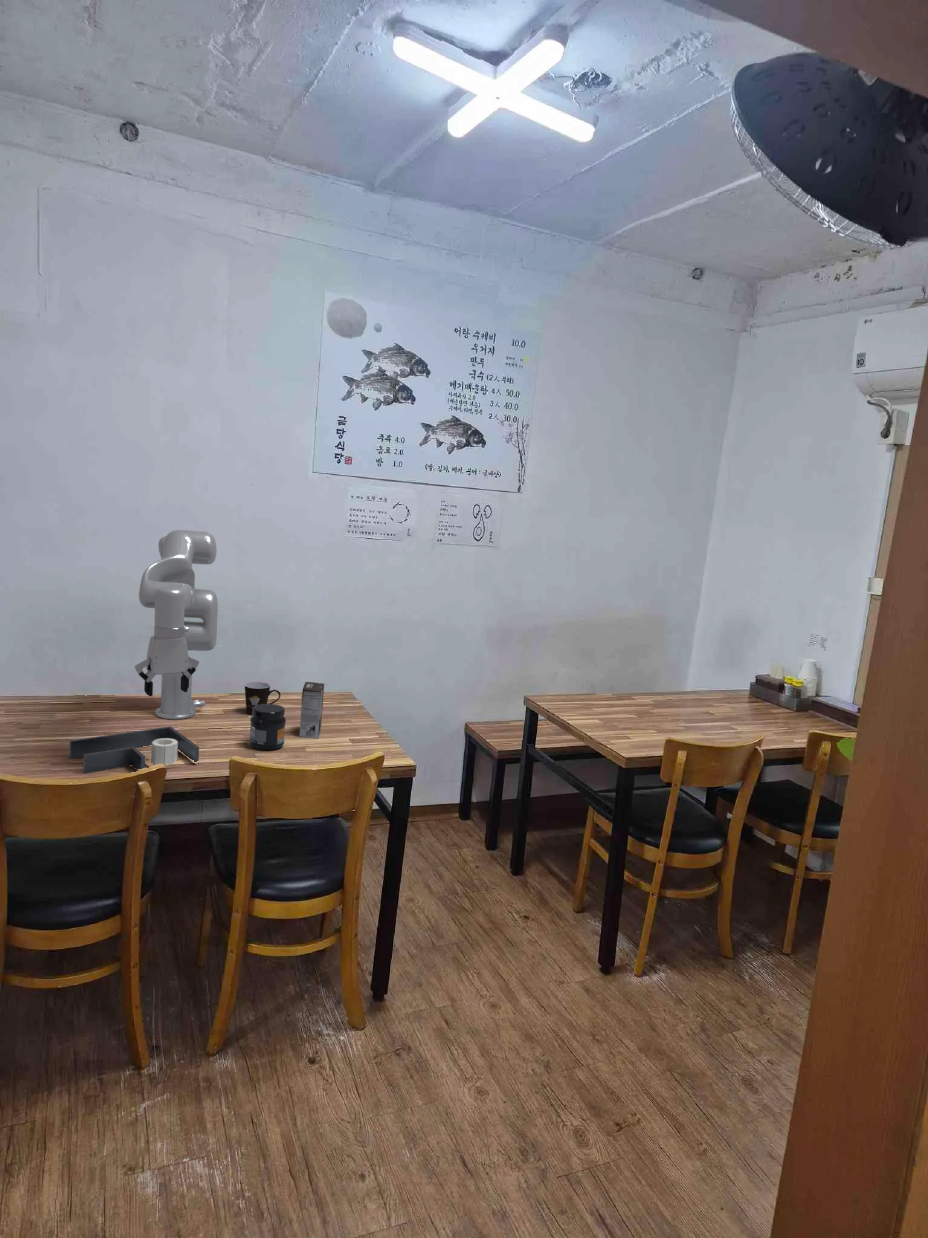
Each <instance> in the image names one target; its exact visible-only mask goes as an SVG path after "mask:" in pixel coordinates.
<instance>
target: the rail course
mask: <svg viewBox="0 0 928 1238" xmlns="http://www.w3.org/2000/svg"><path fill="white" fill-rule="evenodd" d="M161 738H170V739H175V740H176V741H178V749H179V750H180V751H181V752H183V753H184V754H185V755H186V756H188V757H189V758H190V759H192V760H194V762H197V761H199V759H200V758H199V756H200V747H199V746H198V745H197V744H196V743H194V742H193V741H192V740H190V739H189V738H187V737H186V736H185V735H183V734H182V733H180V732H179V731H178V730H176V729H175V728H173V726H165V727H164V726H163V727H157V728H150V729H148V728H147V729H142V730H136V731H129V732H127V731H126V732H120V733H114V734H107V735H106V734H105V735H101V736H100V735H99V736H92V737H85V738H77V739H72V740H70V739H69V759H70V760H72V759H77V758H78V759H79V758H83V771H82V772H83V773H84V774H89V773H96V772H101V771H107V770H106V769H108V770H114V769H119V768H126V767H132V766H133V767H134V768H136V769H142V768H145V769H146V765H145V759H146V755H145V754H143V752H142V751H140V750H139V749H140V748H139V747H143V746H149V745H152V742H153V741H154V740H156V739H161ZM136 748H138V749H136ZM199 762H200V761H199ZM130 765H132V766H130ZM125 766H126V767H125ZM133 767H132V768H133ZM113 768H114V769H113ZM134 768H133V769H134ZM136 769H135V770H136Z"/></svg>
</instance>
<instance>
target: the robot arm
mask: <svg viewBox="0 0 928 1238" xmlns="http://www.w3.org/2000/svg"><path fill="white" fill-rule="evenodd" d="M157 546H158V553H159V556H160V560H157V561H155V562H154V563H152V564H151V565H149V566H148V567H147V568H146V569H145V570H144V572H143V573H142V576H141V579H140V580H141V581H140V583H139V590H138V600H139V603H140V605H141V606H143V607H144V608H148V609H154V625H153V627H154V629H153V631H154V632H153V636H152V635H151V636H150V638H149V642H148V646H147V652H146V659H144V660H142V661H141V662H139V663H138V664H136V665H134V669H135V671H136V672H137V675H138V676H139V677H141V678H142V680H143V681H144V689H143V690H144V693H145V694H146V695H147V696H148V697H152V696H153V694H154V693H153V692H154V689H153V688H154V682H153V681H152V680H153V679H154V678H155V677H156V676H157V675H158V676H159V675H161V686H160V707H158V708H156V710H155V713H154V714H155V715H156V716H157V717H159V718H162V719H167V720H182V719H189V718H192V717H194V716H195V715H196V708H198V707H200V708H201V707H202V708H203V707H205V706H206V702H205V700H198V699H194V700H193V699H192V690H193V689H192V687H193V674H194V673H195V672H196V670H197V668H198V666H199V664H200V661H199V660H197V659H195V658H192V657H190V655H189V652H188V651H194V652H195V651H199V652H209V651H212V650H213V649H215V647H216V644H217V636H218V635H217V633H218V611H219V608H218V606H219V605H218V598H217V594H216V592H214V591H212V590H211V589H210V590H209V589H203V588H201V589H200V588H195V583H196V579H195V578H196V573H195V571H194V568H192V567H193V564H194V565H212V564H213V563H214V562H215V561H216V558H217V550H218V549H217V544H216V538H215V537H214V536H213V535H212V534H211V533H210V532H207V531H197V530H187V529H185V530H184V529H175V530H172V531H170V532H169V533H167V534H166V535H165V536H163V537H161V538H159V540H158V545H157ZM185 618H192V619H194V618H195V619H201V620H202V621H190V620H188V621H187V620H185ZM144 668H145V669H146V670H147V671H146V672H145V673H144Z"/></svg>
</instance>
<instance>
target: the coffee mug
mask: <svg viewBox="0 0 928 1238" xmlns="http://www.w3.org/2000/svg"><path fill="white" fill-rule="evenodd" d="M270 689H271V684H270V683H268V682H263V681H250V682H249V681H248V682H246V683H244V695H245V697H244V698H245V709H246V710H245V711H246V715H249V716H253V714H252V713H253V707H254V706H256V705H260V704H274V703H275V704H276V703H277V701H279V700H280V698H281V692H280V691H279V690H278V689H272V690H270ZM273 692H274V693H277V694H278V698H276V699H275V700H274V701H271V702H270V703H268V700H269V696H270V695H271V693H273Z"/></svg>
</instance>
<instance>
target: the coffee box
mask: <svg viewBox="0 0 928 1238" xmlns="http://www.w3.org/2000/svg"><path fill="white" fill-rule="evenodd" d="M324 692H325V683H324V682H322V683H320V682H312V681H305V682H304V685H303V688H302V692H301V694H302V695H301V706H300V707H301V709H300V720H299V721H300V722H299V737H300V738H311V739H313V738H314V739H319V738H320V735H321V731H322V724H323V707H324V695H325V693H324Z"/></svg>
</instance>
